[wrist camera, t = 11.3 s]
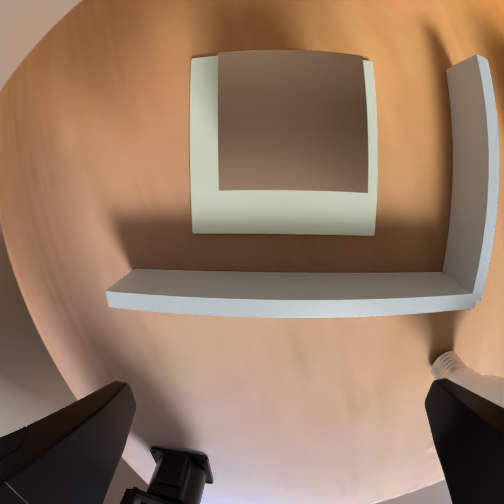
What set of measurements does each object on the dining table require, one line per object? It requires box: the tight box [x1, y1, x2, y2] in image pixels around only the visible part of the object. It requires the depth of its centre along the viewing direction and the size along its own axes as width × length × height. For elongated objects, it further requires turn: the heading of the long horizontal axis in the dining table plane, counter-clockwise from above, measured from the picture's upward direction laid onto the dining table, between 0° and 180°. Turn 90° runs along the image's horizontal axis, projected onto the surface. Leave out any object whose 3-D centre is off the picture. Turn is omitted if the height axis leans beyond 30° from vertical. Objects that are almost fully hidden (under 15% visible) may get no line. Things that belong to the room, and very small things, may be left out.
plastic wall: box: [106, 54, 499, 318], centre depth 14 cm, size 16×22×4 cm
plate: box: [190, 56, 378, 236], centre depth 15 cm, size 11×11×1 cm
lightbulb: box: [431, 351, 504, 408], centre depth 14 cm, size 6×6×11 cm
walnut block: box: [218, 50, 368, 193], centre depth 12 cm, size 5×5×7 cm
